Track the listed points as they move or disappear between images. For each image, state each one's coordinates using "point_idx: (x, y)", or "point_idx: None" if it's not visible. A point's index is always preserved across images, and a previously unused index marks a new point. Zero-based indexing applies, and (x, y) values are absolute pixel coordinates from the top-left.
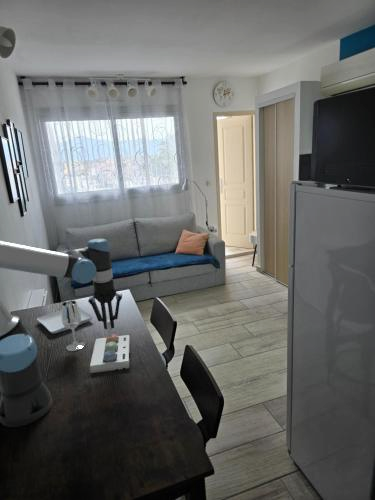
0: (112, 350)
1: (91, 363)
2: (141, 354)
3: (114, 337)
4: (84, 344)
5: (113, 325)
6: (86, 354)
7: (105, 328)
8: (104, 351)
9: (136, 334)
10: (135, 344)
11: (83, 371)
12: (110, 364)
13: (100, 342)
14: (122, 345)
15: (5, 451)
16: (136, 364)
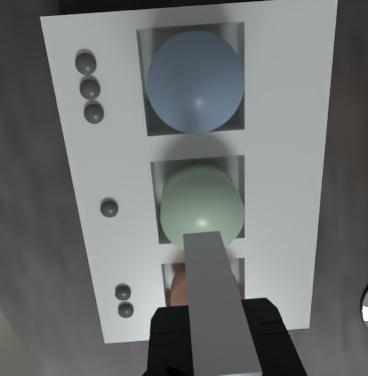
0: (186, 171)
1: (327, 31)
2: (12, 170)
3: (186, 303)
4: (363, 309)
5: (155, 337)
6: (348, 219)
7: (260, 306)
8: (243, 185)
9: (86, 365)
10: (73, 277)
11: (361, 36)
12: (181, 8)
13: (279, 286)
14: (127, 234)
15: None
16: (18, 59)
